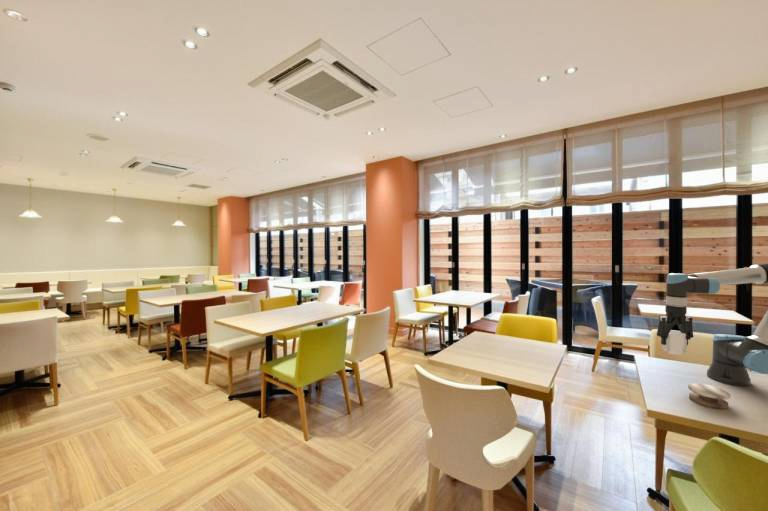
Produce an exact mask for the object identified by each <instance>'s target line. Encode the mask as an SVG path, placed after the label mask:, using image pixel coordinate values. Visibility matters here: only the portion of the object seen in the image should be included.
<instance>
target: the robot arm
mask: <svg viewBox="0 0 768 511" xmlns="http://www.w3.org/2000/svg"><path fill="white" fill-rule="evenodd" d="M665 283H666V284H665V285H666V288H665V290H666V291H665V316H664V315H663V316H658V320H659V321H658V327H657V331H656V336H657V337H659V338H660V339H661V340H660V341H661V342H660V344H661V346H662V349H661V350H662V351H663V352H666V353H667V352H668V348H669V339H667V337H668V335H669V333H670V331H672V329H673V327H674V326H675V325H677V327H678V329H679V332H681V333H683V334H684V333H685V334H686V340H685V348H684V354H685V353H687V352H688V351H687V350H688V349H687V347H688V345H689V340H691V339H693V338H694V330H693V317H691V316H686V315H687V309H688V308H687V305H688V294H697V295H698V294H700V295H702V294H703V295H715V294H718V293H719V292H720V288H721V286H722V287H723V286H733V285H741V284H742V285H743V284H752V283H753V284H756V285H767V284H768V262H766V263H759V264H752V265H750V266H749V267H743V268H742V267H741V268H734V269H724V270H715V271H708V272H707V271H706V272H697V273H688V274H687V273H680V272H678V273H674V272H671V273H667V276H666V281H665ZM748 370H749V371H752V372H756V373H759V374H764V375H768V310H766V311H765V314H764V316H763V317H762V319H761V320H760V322H759V323H758V325H757V327H756V329H755V330H754V332H753V334H752V335H750V336H743V335H737V334H729V333H728V334H727V333H715V334H714V335H713V338H712V359H711V363H710V365H709V368H707V370H706V376H707V377H708V378H710V379H712V380H714V381H717V382H721V383H722V384H723V383H724V384H728V385H732V386H738V387H740V386H741V387H748V386H750V385H751V382H752V380H751V377H750V375H749V372H748Z"/></svg>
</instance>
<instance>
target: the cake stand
mask: <svg viewBox="0 0 768 511" xmlns="http://www.w3.org/2000/svg"><path fill="white" fill-rule="evenodd" d="M687 388H688V390H689V391H691V392H689V395H688V397H689V398H688V399H689V400H690V401H692V402H693V403H696V404H698V405H701V406H704V407H706V408H711V409H715V410H728V408H729V402H728V401H727V400H730V399H731V393H729V392H728V391H727V390H725V389H723V388H719V387H717V386H715V385H710V384H705V383H699V382H695V383H694V382H692V383H688V384H687Z"/></svg>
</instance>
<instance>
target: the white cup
mask: <svg viewBox="0 0 768 511" xmlns="http://www.w3.org/2000/svg"><path fill="white" fill-rule="evenodd" d="M667 339H669V348H668V352H666V353H667V354H669V355H670V354H671V355H675V356H683V355H684V354H685V352H684V348H685V340H686V334H685V333H684V334H683V333H681V332H680V331H677V330H671V331H670V333H669V335H668V337H667Z"/></svg>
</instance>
